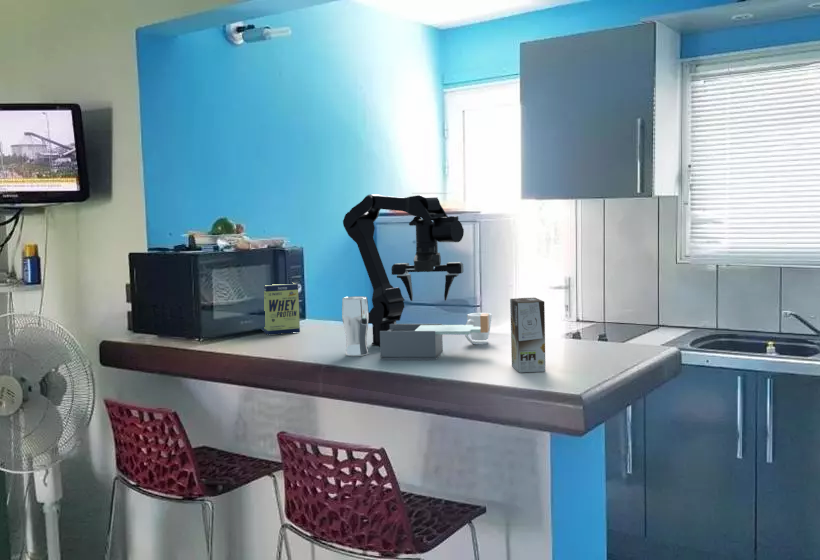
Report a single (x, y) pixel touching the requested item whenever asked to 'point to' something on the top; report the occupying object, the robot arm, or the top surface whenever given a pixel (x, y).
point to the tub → (410, 343)
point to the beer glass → (355, 324)
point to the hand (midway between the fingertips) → (428, 300)
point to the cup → (475, 320)
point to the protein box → (281, 308)
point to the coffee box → (528, 334)
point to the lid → (458, 327)
